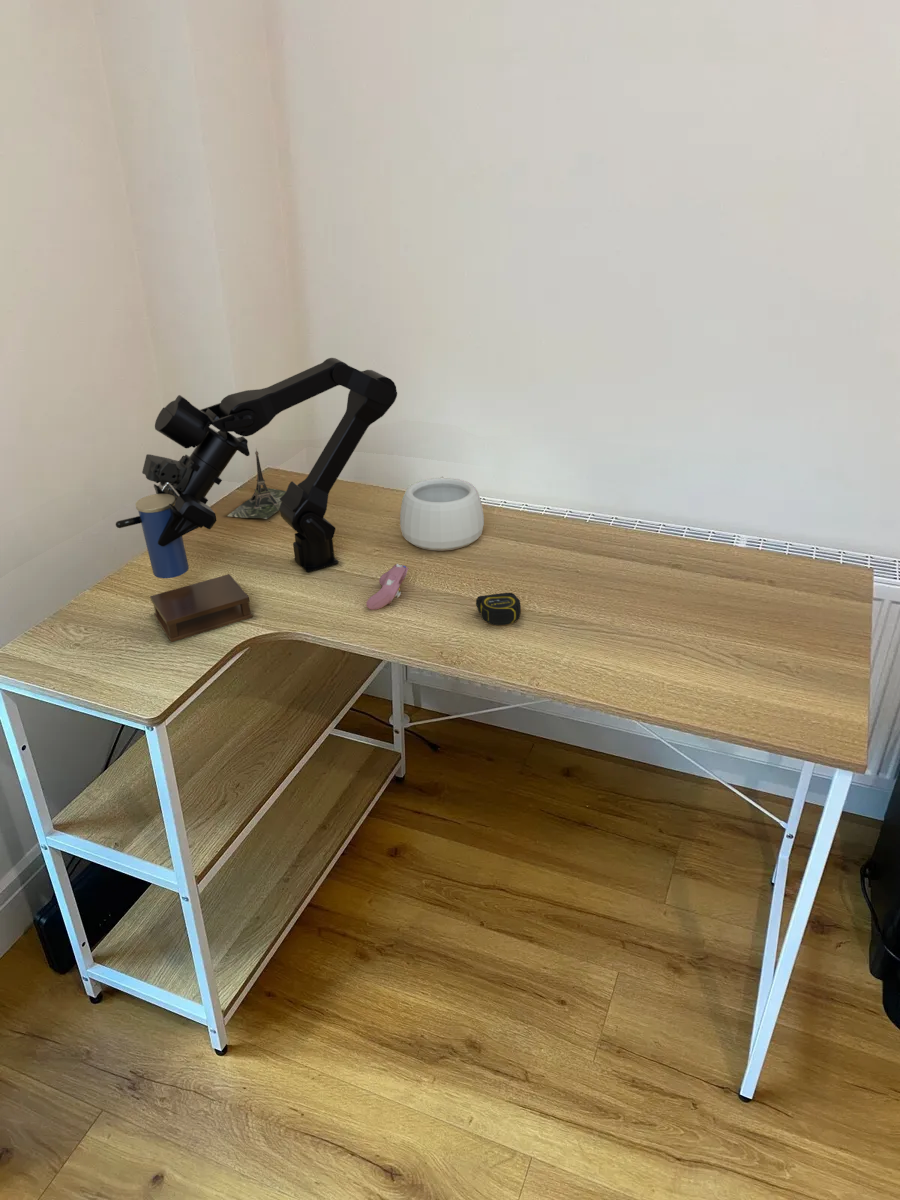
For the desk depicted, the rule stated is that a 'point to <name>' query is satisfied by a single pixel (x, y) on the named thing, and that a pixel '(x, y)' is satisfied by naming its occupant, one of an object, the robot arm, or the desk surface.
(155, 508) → the blue cylinder
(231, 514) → the eiffel tower figurine
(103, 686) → the desk surface
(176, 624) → the rack
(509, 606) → the tape measure
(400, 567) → the video game controller
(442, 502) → the white round bowl
